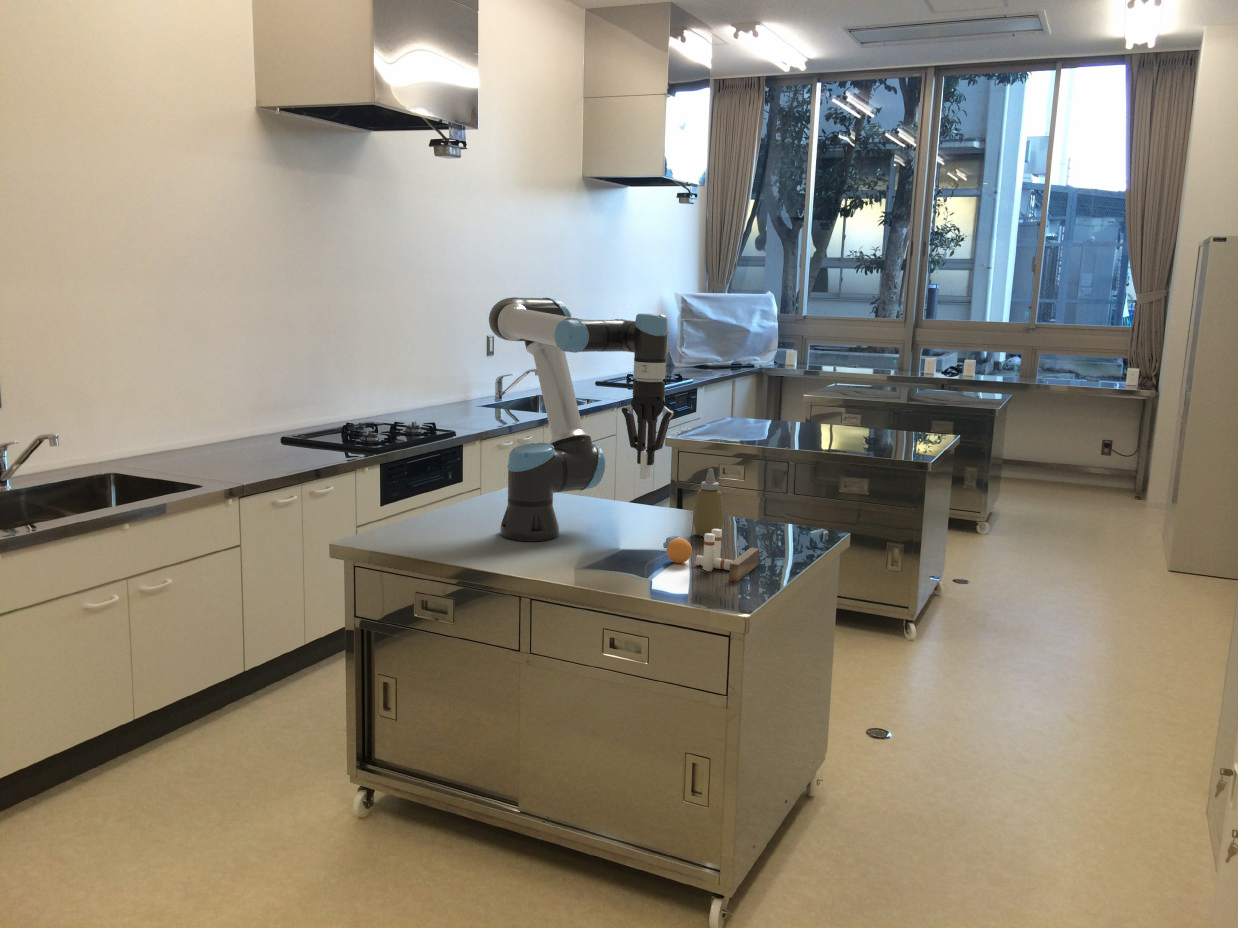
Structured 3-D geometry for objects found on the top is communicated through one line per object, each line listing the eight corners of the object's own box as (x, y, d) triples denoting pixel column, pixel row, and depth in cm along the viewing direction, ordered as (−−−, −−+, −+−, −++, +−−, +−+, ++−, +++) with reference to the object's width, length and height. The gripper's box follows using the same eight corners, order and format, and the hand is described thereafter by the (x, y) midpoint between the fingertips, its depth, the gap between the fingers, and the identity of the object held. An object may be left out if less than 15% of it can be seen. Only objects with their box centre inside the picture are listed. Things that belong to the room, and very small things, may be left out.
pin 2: (708, 565, 232) (710, 530, 231) (711, 562, 235) (713, 528, 233) (718, 566, 231) (720, 531, 230) (721, 564, 234) (723, 529, 232)
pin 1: (700, 570, 228) (702, 534, 226) (704, 567, 230) (706, 532, 229) (711, 571, 227) (713, 536, 225) (714, 569, 229) (716, 534, 228)
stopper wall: (728, 580, 221) (729, 563, 220) (749, 563, 235) (750, 547, 234) (737, 581, 220) (738, 564, 219) (757, 564, 234) (758, 548, 234)
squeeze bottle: (720, 540, 256) (724, 473, 252) (690, 537, 257) (693, 470, 254) (723, 533, 263) (727, 467, 260) (694, 530, 265) (697, 465, 262)
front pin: (695, 556, 230) (729, 561, 227) (699, 553, 233) (733, 558, 229) (695, 566, 231) (729, 571, 228) (699, 563, 233) (732, 568, 230)
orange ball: (690, 559, 229) (671, 570, 232) (700, 552, 234) (681, 562, 237) (677, 537, 229) (658, 548, 232) (687, 530, 234) (668, 541, 237)
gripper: (617, 378, 230) (613, 477, 234) (668, 383, 224) (664, 483, 228) (630, 376, 236) (626, 472, 240) (680, 380, 231) (675, 478, 235)
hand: (644, 477), depth 234 cm, fingers closed
